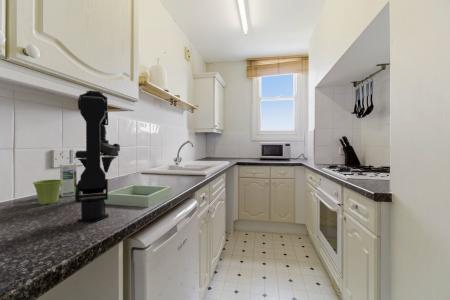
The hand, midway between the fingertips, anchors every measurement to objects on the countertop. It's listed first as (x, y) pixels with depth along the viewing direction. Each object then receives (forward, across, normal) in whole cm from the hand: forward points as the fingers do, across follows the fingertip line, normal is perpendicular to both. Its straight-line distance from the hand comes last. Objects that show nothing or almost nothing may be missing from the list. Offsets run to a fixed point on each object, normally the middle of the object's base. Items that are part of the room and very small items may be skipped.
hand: (98, 173), depth 100 cm
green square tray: (+11, +3, -18) cm, 21 cm away
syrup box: (+11, +2, +18) cm, 21 cm away
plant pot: (+11, -11, +14) cm, 21 cm away
